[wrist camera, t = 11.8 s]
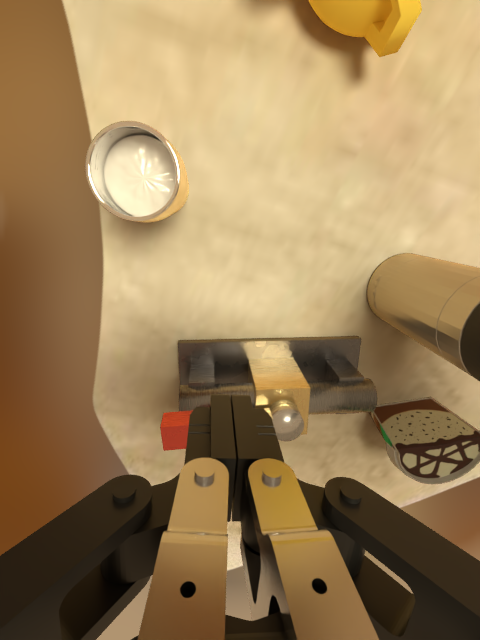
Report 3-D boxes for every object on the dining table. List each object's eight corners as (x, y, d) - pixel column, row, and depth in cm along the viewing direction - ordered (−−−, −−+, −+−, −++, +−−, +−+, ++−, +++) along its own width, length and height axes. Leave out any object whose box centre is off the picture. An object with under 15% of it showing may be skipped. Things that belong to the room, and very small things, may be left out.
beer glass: (174, 231, 40) (154, 242, 25) (119, 197, 38) (65, 188, 24) (204, 177, 38) (201, 157, 24) (148, 139, 37) (109, 93, 22)
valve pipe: (358, 336, 46) (392, 364, 37) (349, 407, 49) (378, 448, 41) (178, 340, 44) (171, 371, 35) (182, 413, 47) (176, 458, 39)
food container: (359, 442, 51) (393, 495, 42) (359, 407, 49) (394, 454, 40) (437, 430, 52) (488, 479, 42) (440, 395, 50) (494, 438, 40)
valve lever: (298, 397, 37) (304, 410, 35) (298, 425, 39) (304, 440, 36) (163, 409, 36) (159, 424, 34) (167, 437, 38) (164, 453, 35)
